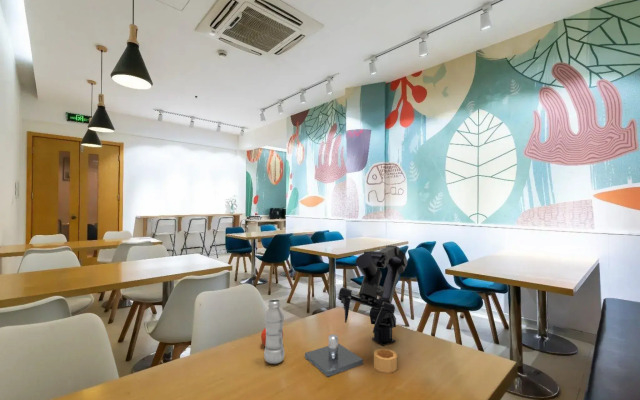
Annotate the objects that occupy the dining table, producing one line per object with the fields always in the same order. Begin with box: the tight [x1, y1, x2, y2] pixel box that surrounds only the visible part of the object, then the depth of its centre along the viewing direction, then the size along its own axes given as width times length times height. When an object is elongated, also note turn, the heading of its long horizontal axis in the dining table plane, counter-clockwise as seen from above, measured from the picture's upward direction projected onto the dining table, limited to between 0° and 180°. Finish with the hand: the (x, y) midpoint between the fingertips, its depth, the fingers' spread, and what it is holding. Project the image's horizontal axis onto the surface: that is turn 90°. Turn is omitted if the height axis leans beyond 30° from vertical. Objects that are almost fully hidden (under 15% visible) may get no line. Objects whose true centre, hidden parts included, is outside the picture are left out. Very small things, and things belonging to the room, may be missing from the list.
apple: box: [260, 328, 284, 346], centre depth 110 cm, size 8×8×8 cm
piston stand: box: [304, 334, 364, 378], centre depth 99 cm, size 14×14×8 cm
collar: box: [373, 348, 398, 374], centre depth 95 cm, size 7×7×4 cm
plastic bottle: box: [263, 298, 285, 365], centre depth 98 cm, size 6×7×20 cm
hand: (359, 327), depth 95 cm, fingers open, 9 cm apart
